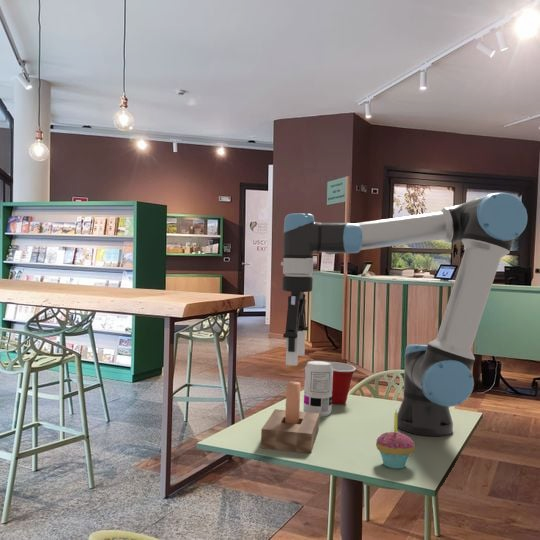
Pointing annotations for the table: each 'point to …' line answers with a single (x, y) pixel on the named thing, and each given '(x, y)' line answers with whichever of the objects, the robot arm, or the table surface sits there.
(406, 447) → the cupcake
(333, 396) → the plastic cup
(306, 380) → the supplement can
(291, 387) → the dowel pin
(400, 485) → the table surface
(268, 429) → the hole block
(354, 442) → the table surface
